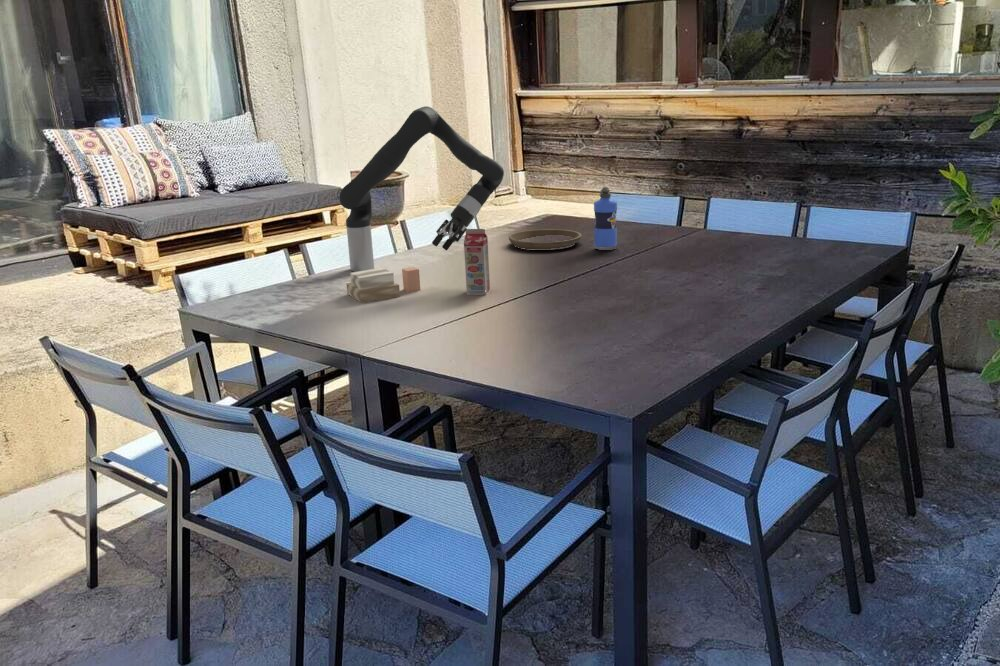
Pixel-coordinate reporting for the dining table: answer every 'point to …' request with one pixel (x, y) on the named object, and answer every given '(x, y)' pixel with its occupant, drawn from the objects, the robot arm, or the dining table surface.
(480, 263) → the juice carton
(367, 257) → the robot arm
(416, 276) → the terracotta brick
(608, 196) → the water bottle
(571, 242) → the plant saucer
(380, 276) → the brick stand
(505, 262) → the dining table surface
